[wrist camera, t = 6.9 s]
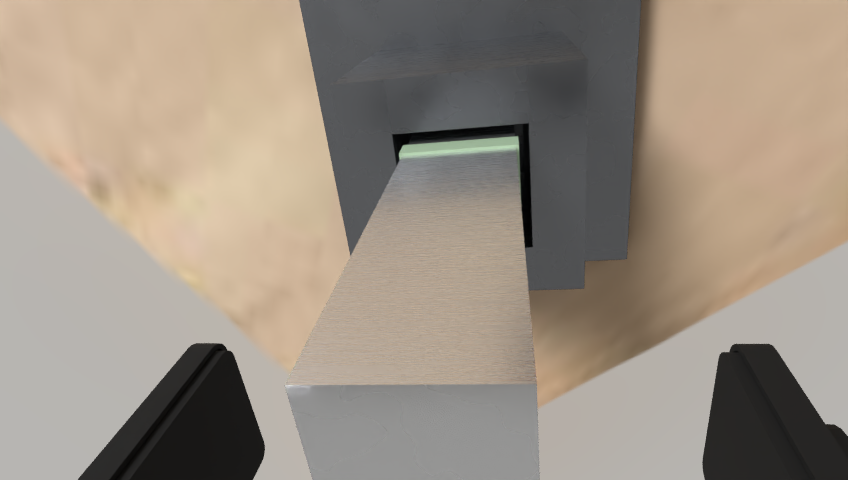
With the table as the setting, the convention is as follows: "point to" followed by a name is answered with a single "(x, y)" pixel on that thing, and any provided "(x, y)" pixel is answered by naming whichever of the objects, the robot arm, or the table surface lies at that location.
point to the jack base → (489, 107)
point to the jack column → (428, 327)
